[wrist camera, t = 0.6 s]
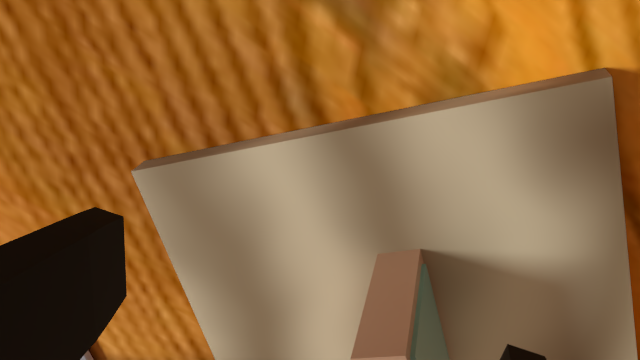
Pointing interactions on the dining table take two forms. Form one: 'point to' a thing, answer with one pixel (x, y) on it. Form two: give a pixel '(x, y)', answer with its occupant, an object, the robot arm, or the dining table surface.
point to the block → (400, 312)
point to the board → (411, 226)
